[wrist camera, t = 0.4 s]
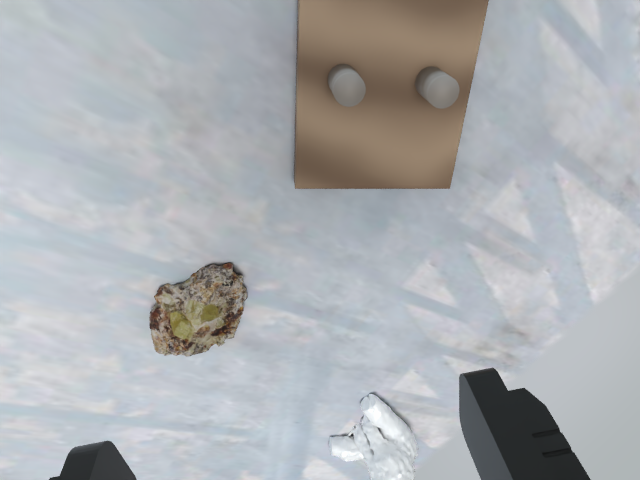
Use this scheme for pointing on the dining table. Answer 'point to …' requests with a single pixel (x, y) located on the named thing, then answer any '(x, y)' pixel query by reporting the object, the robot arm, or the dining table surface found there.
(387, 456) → the white creature statuette
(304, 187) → the base plate
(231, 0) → the dining table surface
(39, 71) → the dining table surface
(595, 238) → the dining table surface
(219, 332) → the mineral rock
